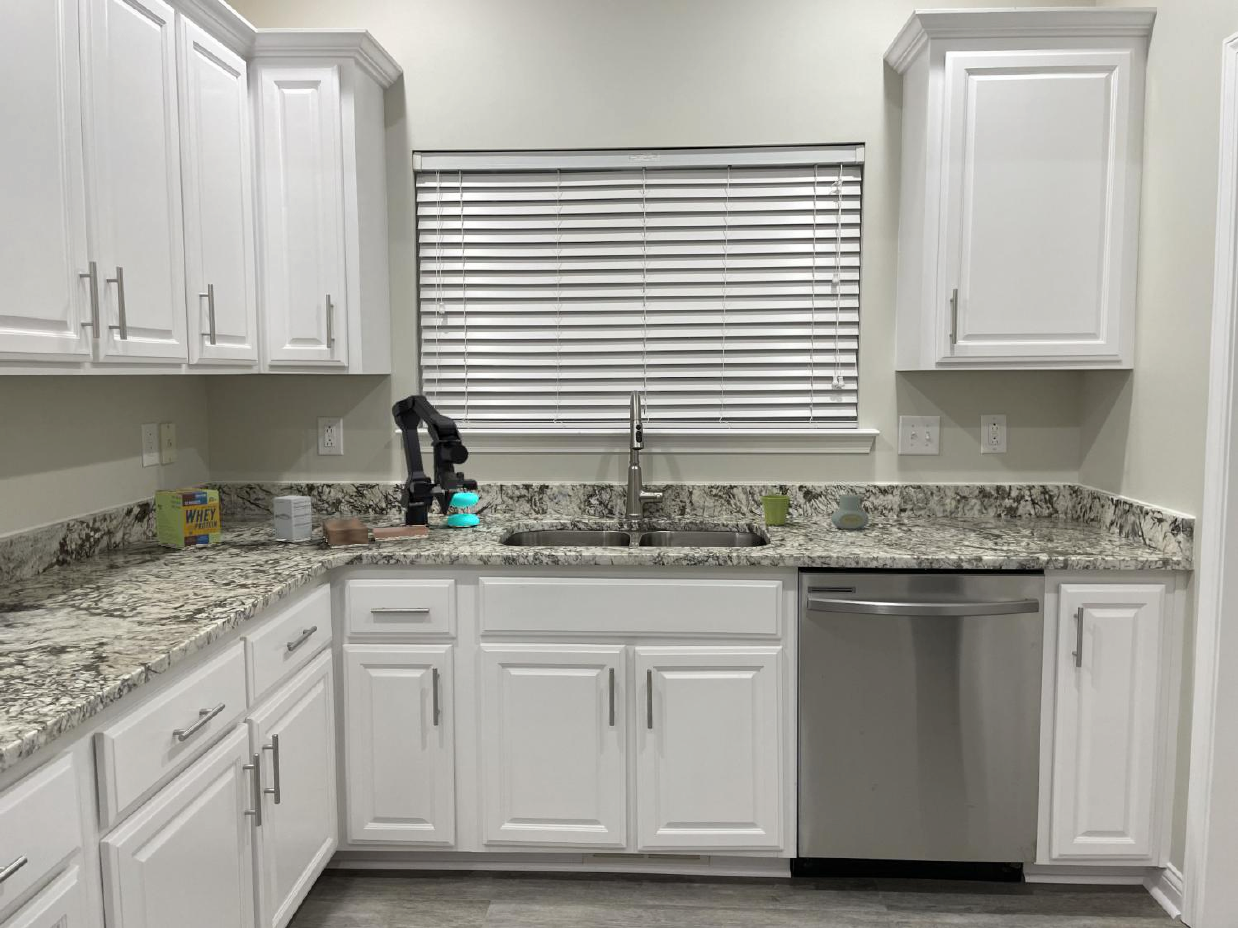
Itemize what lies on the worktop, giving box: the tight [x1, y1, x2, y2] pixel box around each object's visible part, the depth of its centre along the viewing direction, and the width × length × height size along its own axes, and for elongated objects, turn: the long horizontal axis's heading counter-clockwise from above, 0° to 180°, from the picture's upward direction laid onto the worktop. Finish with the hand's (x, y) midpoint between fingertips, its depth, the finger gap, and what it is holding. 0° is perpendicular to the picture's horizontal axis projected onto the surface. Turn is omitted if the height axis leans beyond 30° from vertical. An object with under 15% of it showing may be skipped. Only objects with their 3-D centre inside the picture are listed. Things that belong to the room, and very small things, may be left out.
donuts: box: [446, 492, 480, 526], centre depth 279 cm, size 10×10×10 cm
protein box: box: [154, 487, 222, 547], centre depth 248 cm, size 10×15×16 cm
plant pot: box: [759, 494, 792, 526], centre depth 277 cm, size 9×9×9 cm
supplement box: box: [273, 495, 313, 540], centre depth 254 cm, size 7×7×13 cm
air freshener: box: [830, 493, 870, 531], centre depth 267 cm, size 11×8×10 cm
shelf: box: [321, 518, 370, 547], centre depth 252 cm, size 10×20×5 cm, turn 24°
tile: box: [372, 526, 429, 539], centre depth 258 cm, size 15×8×3 cm, turn 107°
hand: (444, 515), depth 263 cm, fingers closed
